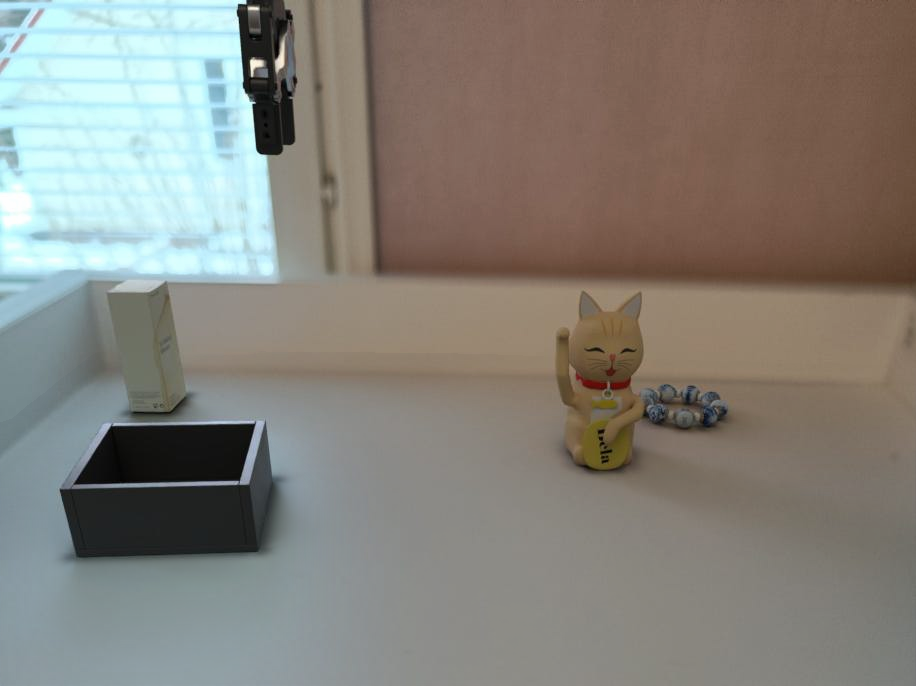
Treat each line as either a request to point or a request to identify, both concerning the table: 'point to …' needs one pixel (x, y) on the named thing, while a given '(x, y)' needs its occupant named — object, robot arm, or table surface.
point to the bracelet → (684, 416)
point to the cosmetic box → (147, 344)
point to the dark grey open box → (170, 489)
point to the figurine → (601, 382)
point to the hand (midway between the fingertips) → (277, 149)
